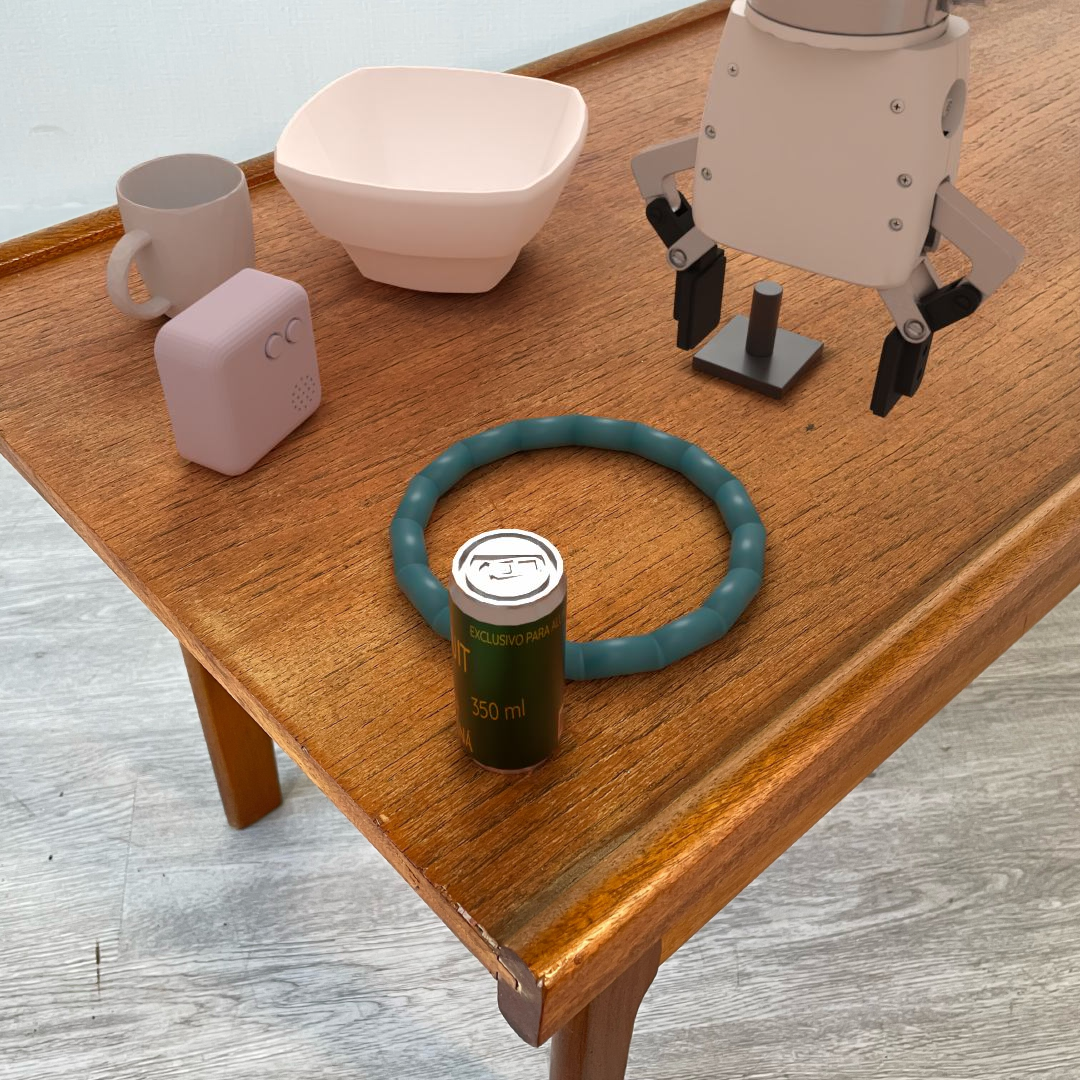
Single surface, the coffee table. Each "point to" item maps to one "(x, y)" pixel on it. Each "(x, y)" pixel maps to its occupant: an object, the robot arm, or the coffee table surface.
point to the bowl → (432, 169)
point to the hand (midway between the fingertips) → (790, 368)
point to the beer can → (508, 648)
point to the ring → (605, 434)
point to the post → (759, 348)
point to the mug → (180, 232)
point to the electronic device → (239, 370)
